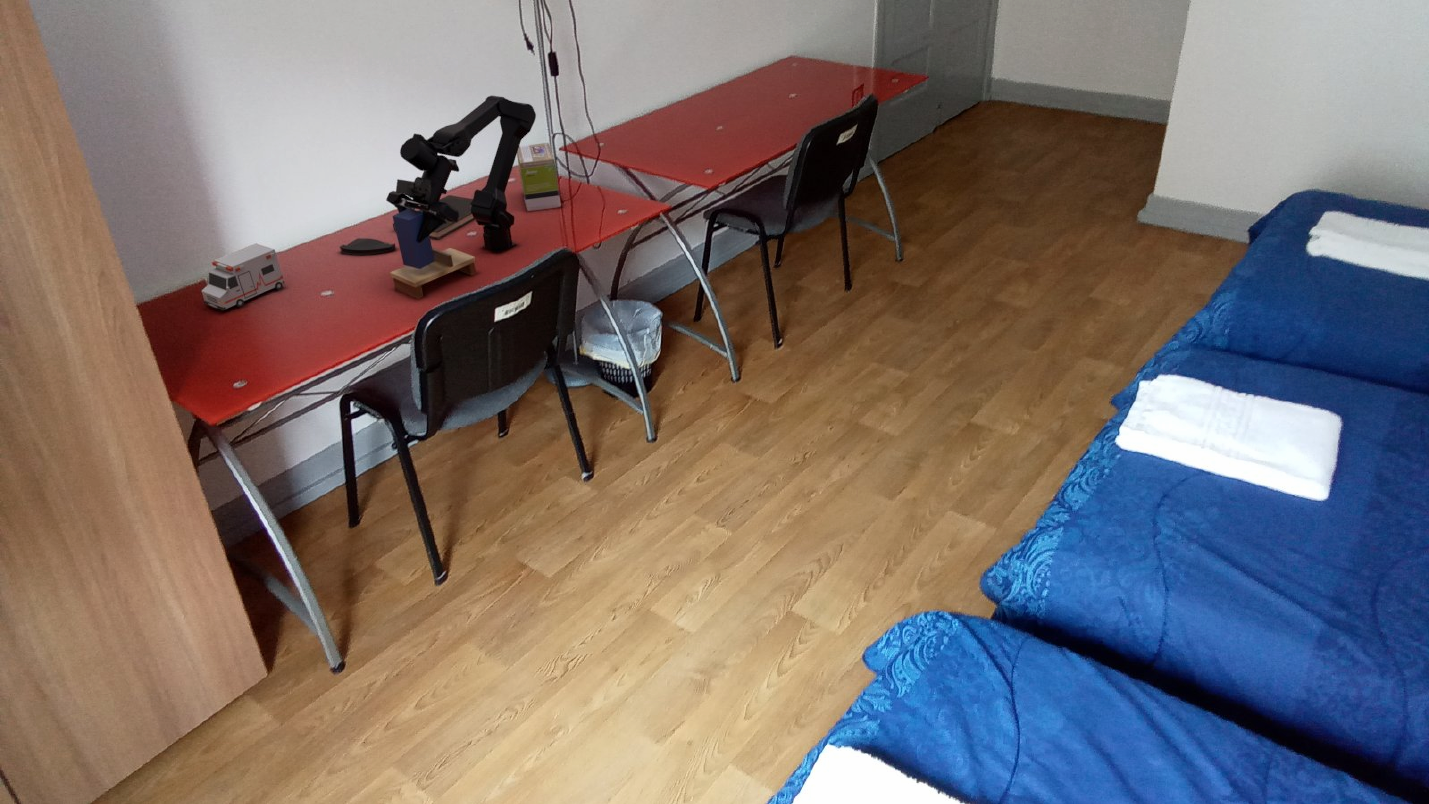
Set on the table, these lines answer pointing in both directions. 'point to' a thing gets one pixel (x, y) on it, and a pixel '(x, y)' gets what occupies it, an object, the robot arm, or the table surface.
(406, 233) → the navy carton
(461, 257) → the wooden stand
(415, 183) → the robot arm
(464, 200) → the hardcover book
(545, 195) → the tea box
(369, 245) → the fan shaped piece
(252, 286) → the toy vehicle
